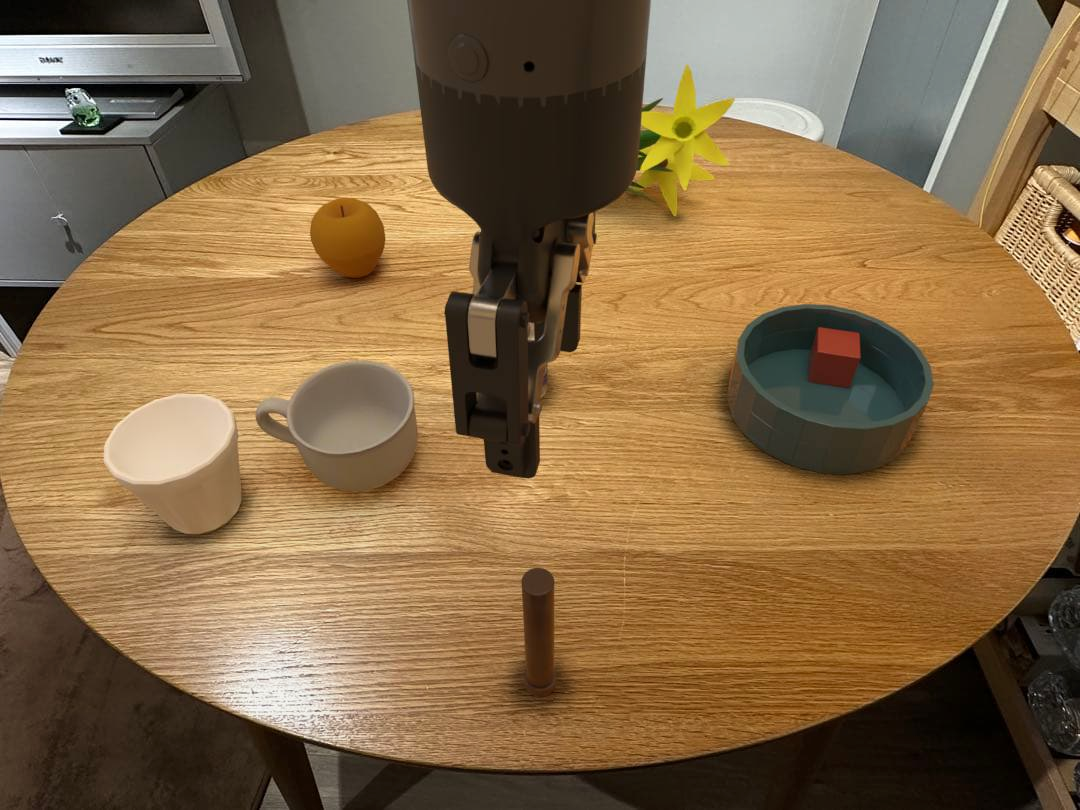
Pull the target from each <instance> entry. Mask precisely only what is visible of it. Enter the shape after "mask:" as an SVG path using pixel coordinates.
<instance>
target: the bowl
mask: <svg viewBox="0 0 1080 810" xmlns="http://www.w3.org/2000/svg"><path fill="white" fill-rule="evenodd" d="M818 327H822V328H829V329H835V330H842V331H849V332H856V333H859V334H860V357H861V359H860V361H859V364H858V367H857V369H856V372H855V375H854V378H853V380H852V383H851V386H850V388H844V387H838V386H832V385H826V384H820V383H813V382H809V381H808V374H809V355H810V352H811V349H812V345H813V342H814V339H815V335H816V332H817V329H818ZM934 385H935V384H934V378H933V372H932V367H931V363H930V362H929V361H928V359H927V358H926V356H925V355H924V353H923V352H922V349H921V348H919V347H918V346H917V344H915V343H914V342H913V341H912V340H911V339H910V338H909V337H907V336H906V335H905V333H903V332H902V331H900V330H899V329H897V328H896V327H894V326H892V325H890V324H889V323H887V322H885V321H883V319H882V320H881V319H879V318H876V317H874V316H872V315H869V314H866V313H863V312H861V311H858V310H854V309H850V308H846V307H842V306H841V307H840V306H836V305H830V304H816V303H815V304H812V303H802V304H794V305H788V306H787V305H786V306H781V307H778V308H775V309H772V310H770V311H767V312H764V313H762V314H759V316H757V317H756V318H755V319H753V320H752V321H751V322H749V323H748V324H747V325H746V326H745V328H744V329H743V331H742V333H741V334H740V336H739V337H738V339H737V343H736V348H735V352H734V357H733V362H732V366H731V369H730V376H729V380H728V388H727V393H726V395H727V397H726V399H727V407H728V409H729V412H730V416H731V418H732V419H733V421H734V423H735V425H736V426H737V428H738V429H739V430H740V431H741V433H742V434H743V435H744V436H745V437H746V439H748V441H750V443H752V444H754V445H755V446H756V447H757V448H758V449H760V450H761V451H762V452H764V453H766V454H767V455H769V456H771V457H773V458H775V459H776V460H779V461H780V462H783V463H785V464H788V465H790V466H792V467H796V468H799V469H802V470H806V471H811V472H814V473H815V472H816V473H821V474H828V475H853V474H861V473H866V472H870V471H873V470H876V469H879V468H881V467H883V466H886V465H887V464H889V463H891V462H892V461H894V460H895V459H897V458H898V457H899V455H901V454H902V453H903V451H904V450H905V449H906V447H907V446H908V444H909V443H910V441H911V440H912V437H913V435H914V433H915V431H916V429H917V426H918V424H919V422H920V420H921V418H922V416H923V414H924V412H925V410H926V408H927V406H928V403H929V402H930V398H931V395H932V392H933V390H934Z"/></svg>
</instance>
